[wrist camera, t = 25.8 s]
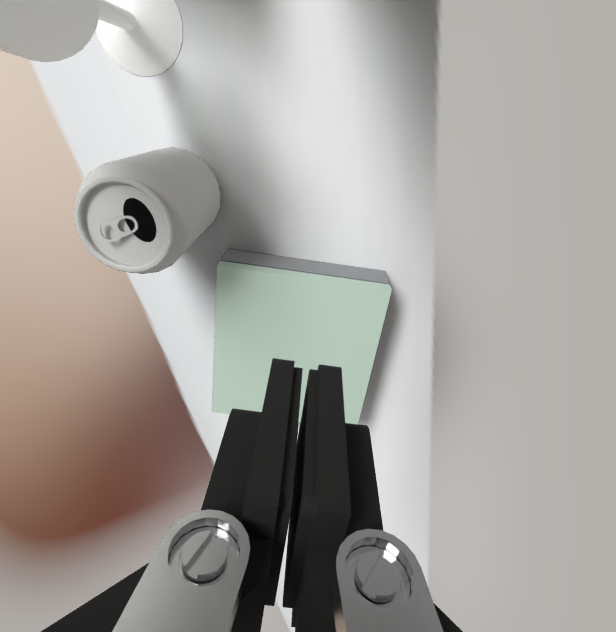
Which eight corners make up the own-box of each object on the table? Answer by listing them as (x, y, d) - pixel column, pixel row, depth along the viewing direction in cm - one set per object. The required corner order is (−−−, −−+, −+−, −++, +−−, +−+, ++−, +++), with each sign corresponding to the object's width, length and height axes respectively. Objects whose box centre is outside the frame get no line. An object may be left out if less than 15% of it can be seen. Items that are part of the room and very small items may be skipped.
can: (235, 220, 37) (200, 266, 27) (161, 242, 39) (99, 295, 28) (202, 134, 34) (147, 147, 24) (123, 161, 35) (36, 186, 25)
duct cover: (220, 260, 36) (216, 265, 35) (389, 284, 36) (391, 290, 35) (214, 404, 43) (211, 411, 42) (355, 422, 44) (356, 430, 42)
